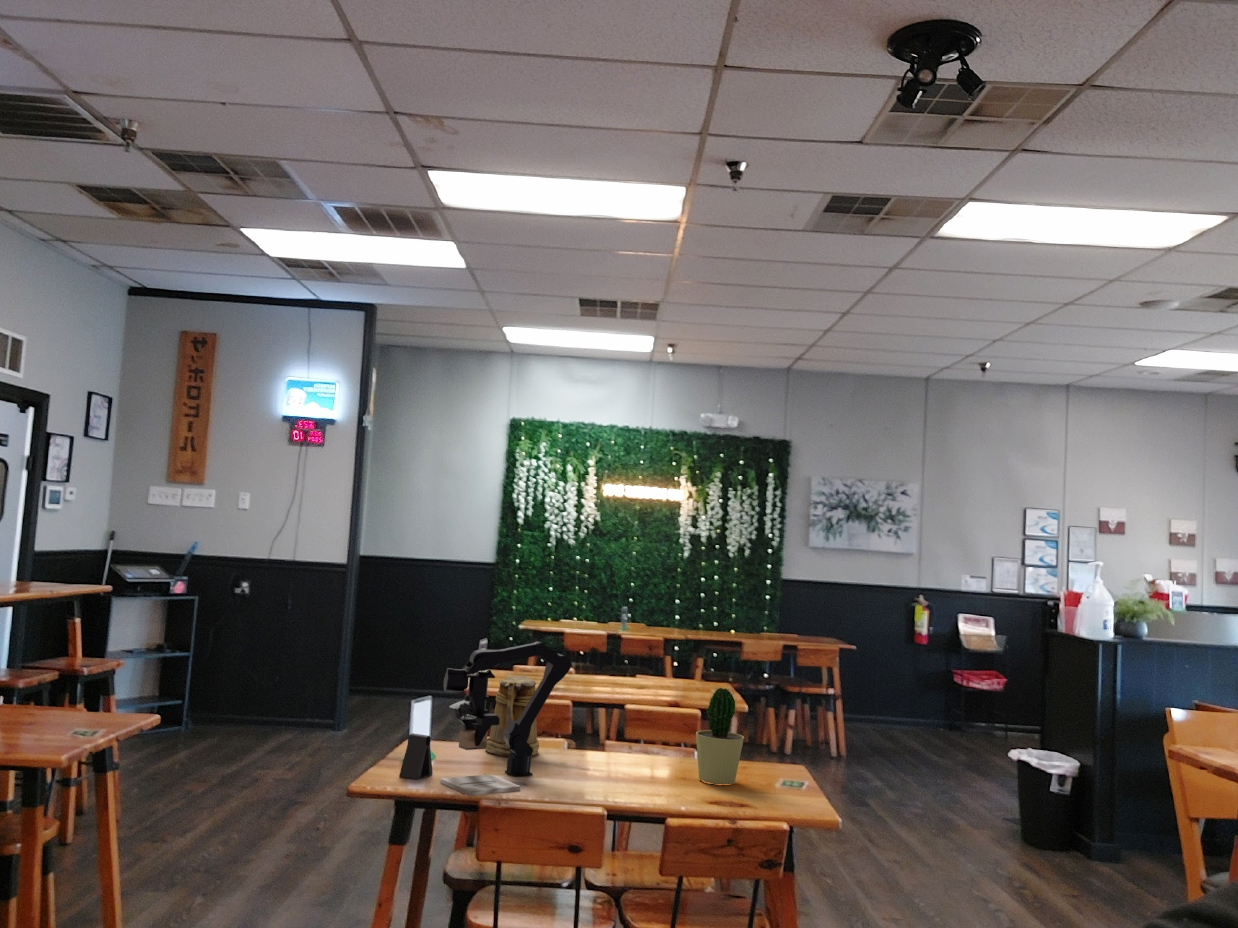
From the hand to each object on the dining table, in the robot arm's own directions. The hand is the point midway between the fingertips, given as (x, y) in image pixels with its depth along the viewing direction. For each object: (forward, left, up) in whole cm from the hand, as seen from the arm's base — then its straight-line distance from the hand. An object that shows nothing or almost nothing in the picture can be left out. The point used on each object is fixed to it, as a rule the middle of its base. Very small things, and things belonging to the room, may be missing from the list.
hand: (472, 744), depth 309 cm
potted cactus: (-69, +36, -9) cm, 79 cm away
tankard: (-29, -22, -9) cm, 38 cm away
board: (+6, +15, -9) cm, 18 cm away
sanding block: (0, 0, -1) cm, 1 cm away
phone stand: (+17, -3, -9) cm, 19 cm away
